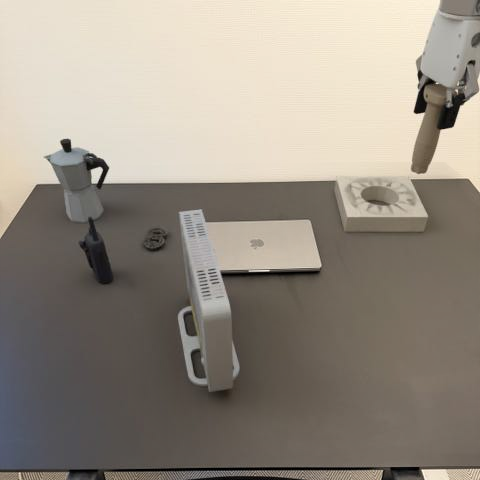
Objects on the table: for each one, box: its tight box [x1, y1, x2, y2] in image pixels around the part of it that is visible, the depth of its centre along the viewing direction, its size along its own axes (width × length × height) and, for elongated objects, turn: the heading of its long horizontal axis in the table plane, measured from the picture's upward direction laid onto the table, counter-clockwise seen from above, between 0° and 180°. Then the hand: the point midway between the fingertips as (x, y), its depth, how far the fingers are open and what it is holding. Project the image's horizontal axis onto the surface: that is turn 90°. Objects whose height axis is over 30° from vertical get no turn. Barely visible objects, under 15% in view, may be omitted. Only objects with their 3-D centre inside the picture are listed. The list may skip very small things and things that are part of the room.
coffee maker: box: [43, 138, 110, 224], centre depth 106 cm, size 15×9×18 cm, turn 80°
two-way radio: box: [78, 216, 114, 284], centre depth 91 cm, size 6×4×15 cm
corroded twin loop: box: [141, 225, 168, 251], centre depth 104 cm, size 5×8×1 cm, turn 175°
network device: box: [177, 209, 240, 393], centre depth 76 cm, size 26×9×20 cm, turn 12°
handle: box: [410, 83, 458, 175], centre depth 86 cm, size 5×6×15 cm
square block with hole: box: [333, 175, 429, 233], centre depth 112 cm, size 18×18×4 cm
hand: (433, 119), depth 85 cm, fingers closed on handle, 6 cm apart
